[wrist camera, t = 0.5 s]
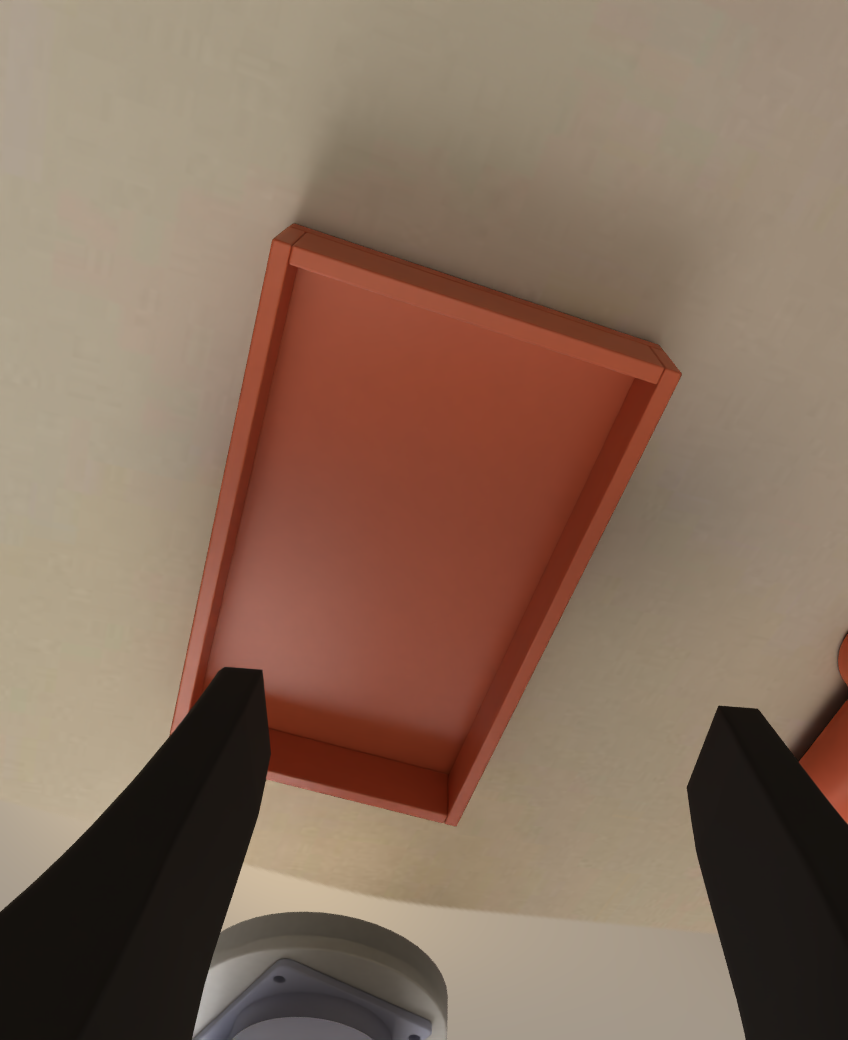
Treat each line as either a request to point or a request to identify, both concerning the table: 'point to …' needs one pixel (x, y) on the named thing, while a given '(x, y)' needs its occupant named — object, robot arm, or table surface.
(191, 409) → the table surface
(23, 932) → the robot arm
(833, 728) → the red spoon
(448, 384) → the red tray
